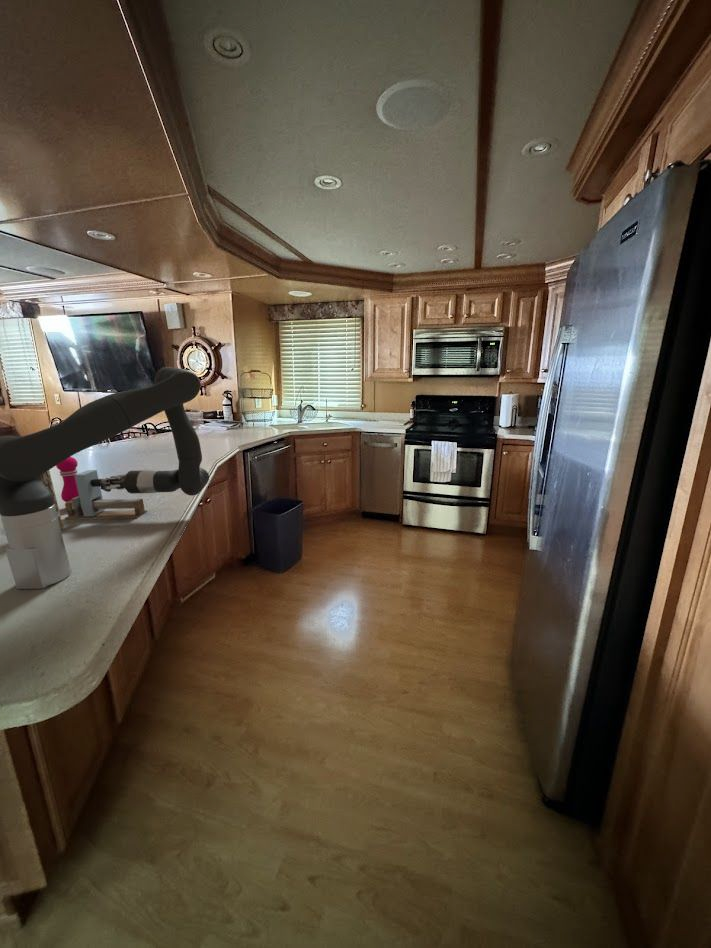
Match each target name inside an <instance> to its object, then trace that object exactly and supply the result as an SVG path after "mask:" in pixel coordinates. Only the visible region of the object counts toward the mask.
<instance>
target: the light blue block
mask: <svg viewBox="0 0 711 948" xmlns="http://www.w3.org/2000/svg"><path fill="white" fill-rule="evenodd" d="M98 474H99V473H98V470H97V469H87V470H84V471H82V472H78V473H77V474H76V475H75V479H76V484H77V488H78V493H79V497H80V501H81V506H82V510H83V514H84V516H95V515H96V514H98V513H100V512H102V511H106V509H95V510H93V505H92V501H91V500H93V499H98V500H104V499H103V495H102V493H103V492H102V489H101V487H93V486H92V485H91V480H93V479H99V475H98Z"/></svg>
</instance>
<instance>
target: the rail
mask: <svg viewBox="0 0 711 948" xmlns="http://www.w3.org/2000/svg"><path fill="white" fill-rule="evenodd" d="M91 501H92V505H93V510H95V509H105V510H104V511H102V512H100V513H98V514H96V515H95V516H84V514H83V510H82V506H81V501H80V497H79V496H77V497H75V498H73V499H72V500H71V501H68V502H65V503H64V505H65V504H66V507H65V509H66V508H67V509H66V512H67V516H65V517H64V518H65V519H64V520H99V519H100V520H102V519H103V520H105V519H107V520H109V519H111V518H118V519H139V518H140V517H142V516H143V515H144V514H146V513H148V510H147V509H145V506H144V499H143V498H127V499H126V498H122V499H121V498H120V499H119V498H118V499H113V498H111V499H103V500H98V499H93V500H91ZM110 509H117V510H110ZM118 509H122V510H118ZM123 509H134V510H123ZM141 515H142V516H141ZM138 517H139V518H138Z"/></svg>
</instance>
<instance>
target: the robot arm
mask: <svg viewBox="0 0 711 948" xmlns="http://www.w3.org/2000/svg"><path fill="white" fill-rule="evenodd" d="M153 380H154V384H152V385H149V386H147V387H146V386H145V387H141V388H135V389H129V390H123V391H119V392H113V393H111V394H107V395H105V396H103V397H100V398H97V399H95V400H92V401H90V402H88V403H87V404H84V405H83V406H81V407H80V408H78V409H77V410H75V411H74V412H72V414H70V415H69V416H68V417H66V418H65V419H64V420H62V421H61V422H59V423H56V424H55V425H51V426H50V427H46V428H44V429H42V430H38V431H36V432H33V433H29V434H27V435H23V436H17V435H1V436H0V519H1V523H2V525H3V526H2V527H3V530H4V533H5V537H6V541H7V543H8V547H9V548H7V549H6V550H5V553H6V558H7V561H8V564H9V567H10V570H11V574H12V579H13V580H14V585H15V587H16V589H17V590H33V589H35V590H40V589H45V588H47V587H48V586H50V585H53V584H57V583H59V582H61V581H63V580H65V579H67V577H69V576H70V575H71V574H72V573H71V572H72V568H71V565H70V561H69V557H68V553H67V549H66V545H65V541H64V537H63V534H62V528H61V529H60V525H59V521H58V517H57V513H56V508H55V504H54V500H53V496H52V494H51V492H50V491H49V490H48V488H47V487H46V485H45V484H44V482H43V480H42V476H41V475H42V474H43V473H45V472H47V471H48V470H49V471H50V470H51V469H52V468H55V467H56V465H58V464H59V463H61V462H62V461H64V460H66V459H67V458H69V457H73V456H74V455H76V454H78V453H80V452H82V451H84V450H86V449H89V448H91V447H93V446H96V445H98V444H100V443H103V442H104V441H107V440H109V439H111V438H113V437H115V436H117V435H119V434H121V433H123V432H126V431H127V430H129V429H131V428H134V427H135V426H136V425H139V424H140V423H142V422H145V421H146V420H149V419H151V418H152V417H155V416H157V415H158V414H160V413H163V412H164V414H165V416H166V420H167V422H168V424H169V427H170V430H171V433H172V436H173V441H174V446H175V449H176V451H175V452H176V454H177V459H178V468H177V469H174V470H152V469H150V470H149V469H148V470H146V469H145V470H142V469H141V470H129V471H128V472H127V473H126V474H119V475H112V476H110V477H105V478H98V479H93V480H91V485H92V486H93V487H100V488H101V491H102V490H103V491H104V492H107V493H110V492H111V491H112V490H119V491H120V490H125V491H126V492H127V493H128V494H129V493H130V494H156V493H172V492H175V491H177V490H179V489H181V491H182V492H183V493H184V494H185V495H188V496H191V497H192V496H196V495H198V494H200V493H201V492H202V491H203V490H204V488H205V487H206V486H207V485H208V483H209V481H210V474H209V472H208V471H207V470H206V469H204V468H203V467H200V466H201V464H202V461H203V455H202V453H203V452H202V448H201V442H200V439H199V436H198V433H197V432H196V430H195V427H194V426H193V424H192V422H191V421H190V418H189V417H188V414H187V413H186V412H187V411H186V410H185V407H184V404H185V403H188V402H190V401H192V400H194V399H195V398H196V397H197V396H198V395H199V393H200V391H201V386H202V385H201V384H202V383H201V380H200V378H199V377H198V375H197V374H196V373H195V372H192V371H190V370H188V369H184V368H179V367H172V366H164V367H161V368H160V369H158V371H156V373H155V376H154V379H153Z"/></svg>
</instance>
